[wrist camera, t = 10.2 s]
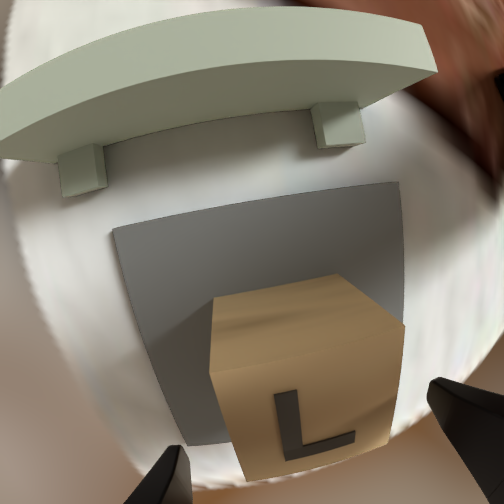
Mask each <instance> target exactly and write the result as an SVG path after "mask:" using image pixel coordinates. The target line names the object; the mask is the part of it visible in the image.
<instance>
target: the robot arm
mask: <svg viewBox="0 0 504 504" xmlns="http://www.w3.org/2000/svg"><path fill="white" fill-rule="evenodd" d="M495 81H496V83H497V85H498V88H499V90H500V92H501V95H502V97H503V99H504V73H502V74H499V75H497V76H495ZM427 402H428V404H429V406H430V408H431V409H432V411H433V413H434V415H435V417H436V419H437V421H438V423H439V425H440V426H441V428H442V430H443V432H444V433H445V434H446V436H447V438H448V439H449V441H450V442H451V443H452V445H453V446H454V448H455V449H456V451H457V452H458V454H459V455H460V457H461V459H462V460H463V462H464V463H465V465H466V466H467V468H468V469H469V471H470V472H471V474H472V475H473V477H474V479H475V480H476V482H477V483H478V485H479V487H480V488H481V490H482V492H483V493H484V495H485V496H486V498H487V500H488V502H489V503H490V504H504V395H500V394H497V393H494V392H490V391H486V390H483V389H479V388H475V387H472V386H469V385H465V384H462V383H459V382H455V381H452V380H449V379H446V378H442V377H437V378H435V379H433V380H431V381H430V383H429V388H428V392H427ZM192 500H193V497H192V484H191V471H190V461H189V458H188V456H187V454H186V452H185V451H184V449H183V447H182V446H181V445H170V446H168V448H167V449H166V450H165V452H164V453H163V454H162V455H161V457H160V458H159V459H158V461H157V462H156V463H155V465H154V466H153V467H152V468H151V470H150V471H149V472H148V474H147V475H146V476H145V477H144V479H143V480H142V481H141V483H140V484H139V485H138V486H137V487H136V489H135V490H134V491H133V492H132V494H131V495H130V496H129V497H128V499H127V500H126V501H125V502H124V503H123V504H193V503H192V502H193V501H192Z"/></svg>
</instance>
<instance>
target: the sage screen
mask: <svg viewBox="0 0 504 504" xmlns="http://www.w3.org/2000/svg"><path fill="white" fill-rule="evenodd" d="M435 73H438V70H437V67H436V64H435V61H434V58H433V55H432V52H431V49H430V46H429V43H428V41H427V38H426V35H425V33H424V30H423V28H422V25H419V24H416V23H412V22H408V21H404V20H399V19H395V18H390V17H385V16H380V15H375V14H369V13H363V12H356V11H348V10H339V9H329V8H315V7H253V8H239V9H228V10H219V11H211V12H204V13H198V14H192V15H186V16H181V17H176V18H171V19H167V20H162V21H158V22H154V23H150V24H146V25H143V26H139V27H136V28H132V29H129V30H125V31H122V32H119V33H116V34H113V35H110V36H107V37H104V38H102V39H99V40H96V41H94V42H91V43H89V44H86V45H84V46H81V47H79V48H76V49H74V50H72V51H69V52H67V53H65V54H63V55H61V56H58V57H56V58H54V59H52V60H50V61H48V62H46V63H44V64H42V65H40V66H38V67H37V68H35V69H33V70H31V71H29V72H27V73H26V74H24V75H22V76H21V77H19V78H17V79H15V80H14V81H12V82H11V83H9V84H7V85H6V86H4V87H3V88H1V89H0V159H12V160H23V161H33V162H43V163H52V164H54V163H57V162H58V168H59V176H60V184H61V191H62V197H63V198H64V197H75V196H78V195H81V194H85V193H88V192H91V191H95V190H98V189H102V188H105V187H108V181H107V175H106V168H105V160H104V152H103V146H106V145H110V144H113V143H116V142H120V141H123V140H127V139H130V138H134V137H138V136H142V135H146V134H150V133H154V132H158V131H162V130H166V129H171V128H175V127H180V126H185V125H190V124H195V123H200V122H206V121H211V120H217V119H223V118H230V117H236V116H244V115H251V114H259V113H268V112H278V111H290V110H303V109H310V110H311V115H312V120H313V125H314V131H315V136H316V142H317V147H318V149H320V148H332V147H345V146H356V145H360V144H363V143H366V140H365V134H364V129H363V124H362V119H361V114H360V109H359V108H365V107H367V106H369V105H371V104H373V103H375V102H377V101H379V100H381V99H383V98H385V97H387V96H389V95H391V94H393V93H395V92H397V91H399V90H401V89H403V88H405V87H407V86H409V85H411V84H414V83H416V82H418V81H420V80H422V79H424V78H426V77H429V76H431V75H433V74H435Z"/></svg>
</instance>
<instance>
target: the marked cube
mask: <svg viewBox="0 0 504 504" xmlns="http://www.w3.org/2000/svg"><path fill="white" fill-rule="evenodd" d="M404 334H405V325H404V324H403V323H401V322H400V321H399V320H398V319H396V318H395V317H394V316H392V315H391V314H390V313H389V312H387V311H386V310H385V309H383V308H382V307H381V306H380V305H378V304H377V303H376V302H374V301H373V300H372V299H370V298H369V297H368V296H367V295H365V294H364V293H363V292H361V291H360V290H359V289H357V288H356V287H355V286H353V285H352V284H351V283H349V282H348V281H347V280H345V279H344V278H343V277H341V276H340V275H339V274H333V275H328V276H324V277H319V278H314V279H309V280H305V281H300V282H295V283H290V284H285V285H280V286H275V287H270V288H264V289H259V290H254V291H249V292H243V293H238V294H232V295H227V296H221V297H215V298H214V300H213V315H212V331H211V348H210V368H209V374H210V377H211V380H212V384H213V387H214V390H215V393H216V396H217V400H218V403H219V406H220V409H221V412H222V415H223V418H224V421H225V424H226V427H227V430H228V433H229V436H230V438H231V441H232V444H233V447H234V450H235V452H236V455H237V458H238V460H239V463H240V466H241V468H242V471H243V474H244V476H245V479H246V481H247V482H249V481H256V480H262V479H268V478H273V477H279V476H284V475H288V474H293V473H297V472H302V471H306V470H310V469H314V468H318V467H321V466H325V465H328V464H332V463H335V462H338V461H342V460H345V459H348V458H351V457H354V456H357V455H359V454H362V453H365V452H368V451H370V450H373V449H376V448H378V447H381V446H383V445H386V444H388V440H389V435H390V431H391V426H392V421H393V416H394V411H395V405H396V400H397V393H398V387H399V380H400V373H401V365H402V356H403V346H404Z"/></svg>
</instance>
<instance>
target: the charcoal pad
mask: <svg viewBox="0 0 504 504" xmlns="http://www.w3.org/2000/svg"><path fill="white" fill-rule="evenodd" d="M112 230H113V234H114V239H115V243H116V248H117V252H118V256H119V260H120V264H121V268H122V272H123V276H124V280H125V283H126V287H127V291H128V294H129V298H130V301H131V304H132V308H133V311H134V314H135V317H136V320H137V324H138V327H139V330H140V333H141V336H142V339H143V341H144V344H145V347H146V350H147V353H148V355H149V358H150V361H151V364H152V366H153V369H154V371H155V374H156V377H157V379H158V382H159V384H160V386H161V389H162V391H163V394H164V396H165V398H166V401H167V403H168V405H169V408H170V410H171V412H172V414H173V417H174V419H175V421H176V423H177V425H178V427H179V430H180V432H181V434H182V436H183V438H184V440H185V442H186V444H187V446H198V445H209V444H219V443H227V442H232V441H231V438H230V436H229V433H228V430H227V427H226V424H225V421H224V418H223V415H222V412H221V409H220V406H219V403H218V400H217V396H216V393H215V390H214V387H213V384H212V380H211V377H210V374H209V368H210V348H211V331H212V315H213V300H214V298H215V297H221V296H227V295H232V294H238V293H243V292H249V291H254V290H259V289H264V288H270V287H275V286H280V285H285V284H290V283H295V282H300V281H305V280H309V279H314V278H319V277H324V276H328V275H333V274H339V275H340V276H341V277H343V278H344V279H345V280H347V281H348V282H349V283H351V284H352V285H353V286H355V287H356V288H357V289H359V290H360V291H361V292H363V293H364V294H365V295H367V296H368V297H369V298H370V299H372V300H373V301H374V302H376V303H377V304H378V305H380V306H381V307H382V308H383V309H385V310H386V311H387V312H389V313H390V314H391V315H392V316H394V317H395V318H396V319H398V320H399V321H400V322H401V323H403V309H404V244H403V225H402V211H401V200H400V190H399V182H388V183H379V184H370V185H361V186H352V187H344V188H336V189H329V190H321V191H314V192H307V193H300V194H293V195H286V196H280V197H273V198H267V199H261V200H254V201H248V202H243V203H237V204H231V205H225V206H220V207H214V208H209V209H204V210H198V211H193V212H188V213H183V214H178V215H173V216H168V217H163V218H158V219H153V220H149V221H144V222H140V223H135V224H131V225H126V226H122V227H117V228H114V229H112Z"/></svg>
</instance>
